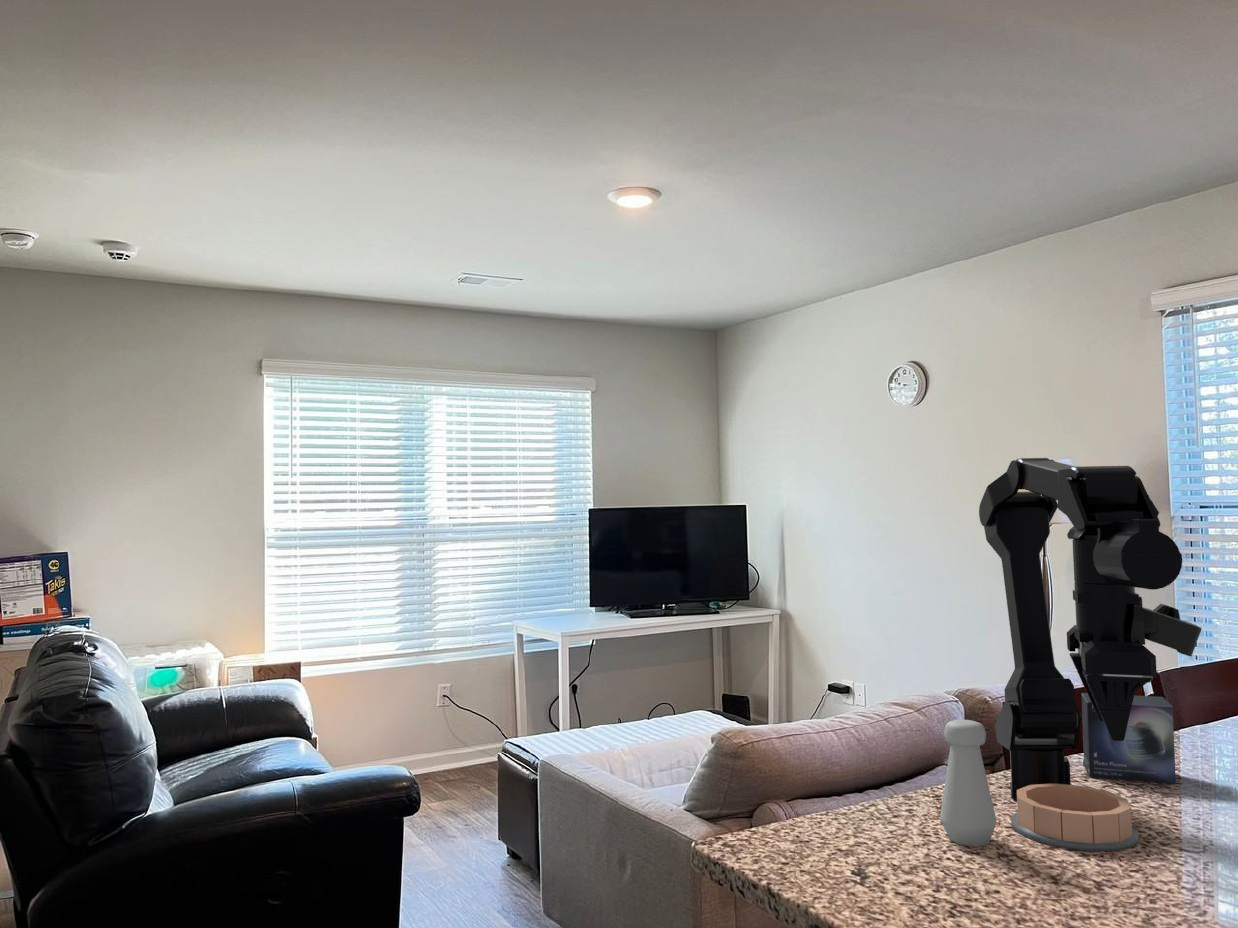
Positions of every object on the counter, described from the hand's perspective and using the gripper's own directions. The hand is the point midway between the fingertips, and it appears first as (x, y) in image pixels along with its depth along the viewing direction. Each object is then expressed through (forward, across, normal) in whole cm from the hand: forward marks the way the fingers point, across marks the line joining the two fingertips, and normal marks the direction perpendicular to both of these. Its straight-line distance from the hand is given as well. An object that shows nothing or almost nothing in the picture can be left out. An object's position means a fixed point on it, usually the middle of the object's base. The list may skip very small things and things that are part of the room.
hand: (1111, 730), depth 97 cm
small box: (+13, +34, -6) cm, 37 cm away
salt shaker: (+13, 0, +15) cm, 20 cm away
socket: (+13, +7, +4) cm, 15 cm away
